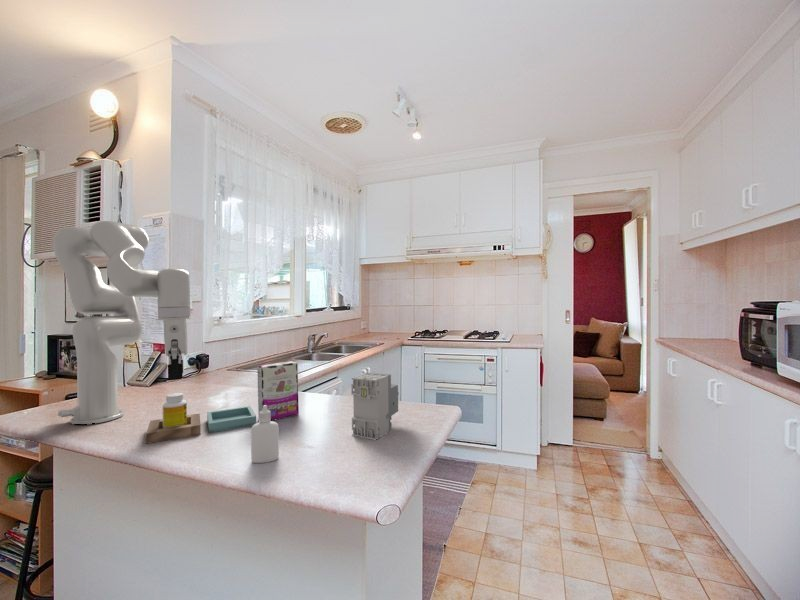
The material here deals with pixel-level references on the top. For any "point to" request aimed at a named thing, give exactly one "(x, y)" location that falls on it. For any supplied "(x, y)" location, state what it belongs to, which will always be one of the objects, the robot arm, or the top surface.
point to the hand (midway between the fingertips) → (176, 376)
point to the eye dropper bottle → (264, 438)
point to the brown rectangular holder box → (173, 430)
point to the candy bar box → (278, 389)
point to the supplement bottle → (174, 411)
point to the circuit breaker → (373, 404)
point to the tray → (230, 419)
